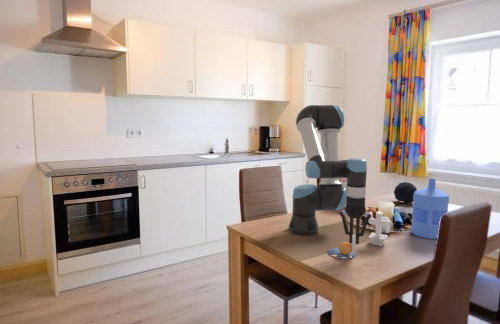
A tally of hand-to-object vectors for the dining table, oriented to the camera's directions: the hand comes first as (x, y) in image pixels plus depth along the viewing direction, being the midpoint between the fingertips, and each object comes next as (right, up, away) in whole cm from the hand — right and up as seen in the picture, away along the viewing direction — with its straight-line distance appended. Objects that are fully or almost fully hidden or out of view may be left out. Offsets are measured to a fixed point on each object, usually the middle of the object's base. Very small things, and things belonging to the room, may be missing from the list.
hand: (353, 250), depth 148 cm
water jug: (+45, +1, +27) cm, 53 cm away
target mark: (-5, -2, +2) cm, 5 cm away
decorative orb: (+61, +10, +89) cm, 108 cm away
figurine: (+15, 0, +14) cm, 21 cm away
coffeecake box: (+21, +8, +77) cm, 80 cm away
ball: (-3, +1, +1) cm, 3 cm away
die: (+24, +2, +30) cm, 38 cm away
